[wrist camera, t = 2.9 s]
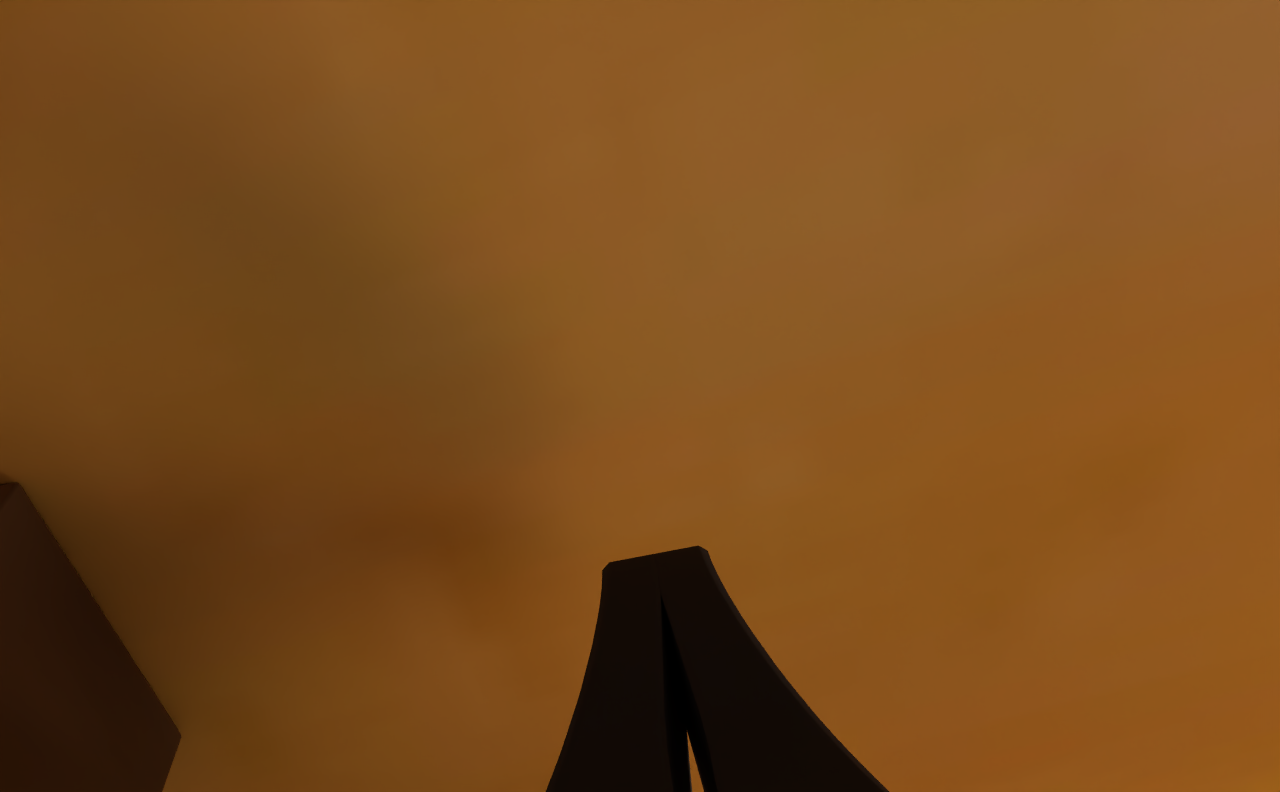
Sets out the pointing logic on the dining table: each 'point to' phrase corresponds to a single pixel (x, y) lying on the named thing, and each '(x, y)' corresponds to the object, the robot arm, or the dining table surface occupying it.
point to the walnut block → (68, 676)
